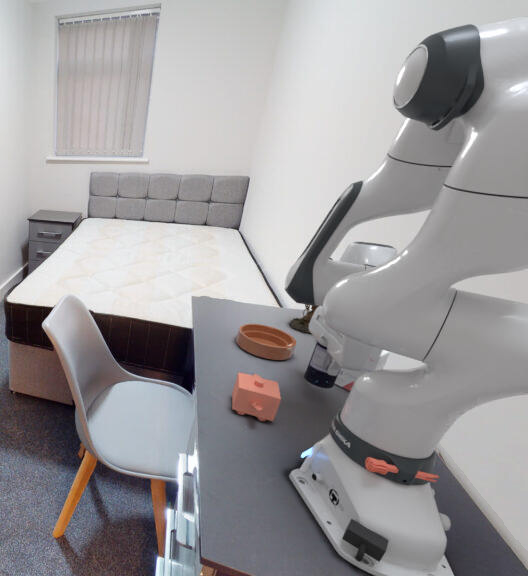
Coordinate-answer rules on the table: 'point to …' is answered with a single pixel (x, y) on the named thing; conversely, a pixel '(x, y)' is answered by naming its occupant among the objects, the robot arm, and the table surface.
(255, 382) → the pink cube teapot
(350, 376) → the ink cartridge box
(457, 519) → the table surface
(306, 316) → the sculpture
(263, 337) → the orange round dish
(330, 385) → the beverage can
